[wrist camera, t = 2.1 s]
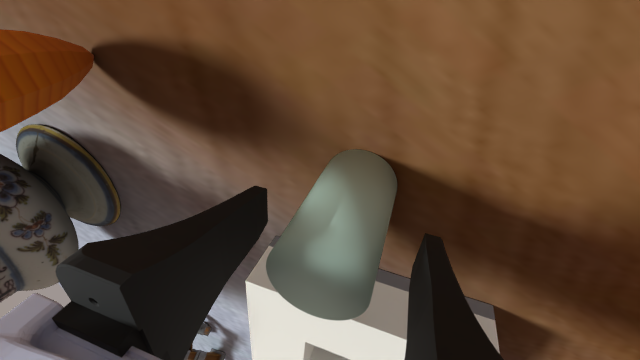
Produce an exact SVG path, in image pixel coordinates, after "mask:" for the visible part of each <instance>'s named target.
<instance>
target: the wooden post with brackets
mask: <svg viewBox="0 0 640 360" xmlns="http://www.w3.org/2000/svg"><path fill="white" fill-rule="evenodd" d="M207 325H208V324H205V323H202V325H201V327H200V329H199V331H198V334H201V335H206V336H208V335H209V333H210V331H211V327H209V326H207ZM192 343H193V342H192ZM225 355H226V354H225V353H223V352H221V351H218V350H215V349H211V352H204V351H201V350H195V349H192V344H191V346H190V348H189V350H188V352H187V354H186V356H185V358H184V360H224V358H225Z"/></svg>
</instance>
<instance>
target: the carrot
mask: <svg viewBox="0 0 640 360" xmlns="http://www.w3.org/2000/svg"><path fill="white" fill-rule="evenodd" d="M93 61H94V55H93V54H92V53H90V52H89V51H88V50H86V49H85V48H83V47H81V46H78V45H75V44H72V43H69V42H66V41H63V40H60V39H57V38H53V37H49V36H44V35H39V34H34V33H30V32H25V31H13V30H1V29H0V132H1V131H4V130H6V129H8V128H10V127H12V126H14V125H16V124H18V123H20V122H22V121H24V120H26V119H27V118H29V117H31V116H33V115H35V114H37V113H39V112H40V111H42V110H44V109H46V108H47V107H49V106H51V105H52V104H54V103H56V102H57V101H59V100H61V99H62V98H63V97H65V96H66V95H67V94H68V93H69V92H70V91H71V90H73V89H74V88H75V87H76V86H77V85H78V84H79V83H80V82H81V81H82V79H83V78H84V77H85V76H86V74H87V73H88V72H89V71H90V69H91V68H92V66H93Z"/></svg>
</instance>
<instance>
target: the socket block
mask: <svg viewBox="0 0 640 360" xmlns="http://www.w3.org/2000/svg"><path fill="white" fill-rule="evenodd" d="M279 238H280V237H278V236H275V238H274V239H273V240H272V242H271V243H270V245H269V246H268V248H267V249H266V251H265V252H264V254H263V255H262V257H261V258H260V260H259V261H258V263H257V264H256V266H255V267H254V269H253V270H252V272H251V273H250V275H249V276H248V278H247V279H246V281H245V283H246V294H247V305H248V316H249V328H250V339H251V350H252V360H405V353H406V342H407V321H408V298H409V285H410V279H409V278H405V277H402V276H399V275H396V274H393V273H390V272H387V271H384V270H381V269H378V272H377V276H376V280H375V284H374V289H373V293H372V297H371V301H370V304H369V307H368V308H367V310H366V311H365V312H364V313H363V314H361V315H360V316H358V317H356V318H353V319H349V320H341V321H336V320H327V319H322V318H318V317H315V316H312V315H310V314H307V313H305V312H303V311H301V310H299V309H298V308H296V307H294V306H293V305H292V304H290V303H289V302H288V301H286V300H285V299H284V298H283V297H282V296H281V295H280V294H279V293H278V292H277V291H276V290H275V288H274V287H273V285H272V284H271V282H270V280H269V278H268V275H267V271H266V261H267V257H268V255H269V253H270V252H271V250H272V249H273V247H274V246H275V244H276V243H277V241H278V240H279ZM465 298H466V300H467V302H468V304H469V306H470V308H471V310H472V312H473V313H474V315H475V317H476V319H477V320H478V322H479V324H480V325H481V327H482V329H483V330H484V332H485V333H486V335H487V337H488V338H489V340H490V341H491V343H492V344H493V346H494V347H495V348H496V350H497V351H498V353H499V354H500V351H499V344H498V337H497V330H496V323H495V316H494V309H493V305H490V304H486V303H483V302H480V301H477V300H474V299H471V298H468V297H465Z"/></svg>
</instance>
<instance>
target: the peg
mask: <svg viewBox="0 0 640 360" xmlns="http://www.w3.org/2000/svg"><path fill="white" fill-rule="evenodd" d="M396 192H397V179H396V175H395V173H394V171H393V169H392V168H391V166H390V165H389V164H388V163H387V162H386V161H385V160H384V159H383V158H381V157H380V156H378V155H376V154H374V153H372V152H369V151H366V150H359V149H353V150H347V151H343V152H341V153H339V154H337V155H336V156H334V157H333V158H332V159H331V160H330V162H329V163H328V164H327V166H326V168H325V169H324V171H323V172H322V174H321V175H320V177H319V178H318V180H317V181H316V183H315V184H314V186H313V187H312V189H311V191H310V192H309V194H308V195H307V197H306V198H305V200H304V201H303V203H302V204H301V206H300V207H299V209H298V210H297V212H296V214H295V215H294V217H293V218H292V220H291V221H290V223H289V224H288V226H287V227H286V229H285V230H284V232H283V233H282V235H281V236H280V238H279V240H278V241H277V243H276V244H275V246H274V247H273V249H272V250H271V252H270V253H269V255H268V257H267V261H266V271H267V275H268V278H269V280H270V282H271V284H272V285H273V287H274V288H275V290H276V291H277V292H278V293H279V294H280V295H281V296H282V297H283V298H284V299H285V300H286V301H288V302H289V303H290V304H292V305H293V306H294V307H296V308H298V309H299V310H301V311H303V312H305V313H307V314H310V315H312V316H315V317H318V318H322V319H327V320H336V321H341V320H349V319H353V318H356V317H358V316H360V315H361V314H363V313H364V312H365V311H366V310H367V308H368V307H369V304H370V301H371V297H372V293H373V289H374V284H375V280H376V276H377V272H378V268H379V263H380V259H381V255H382V251H383V247H384V242H385V238H386V234H387V230H388V226H389V221H390V217H391V213H392V209H393V205H394V200H395V196H396Z"/></svg>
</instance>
